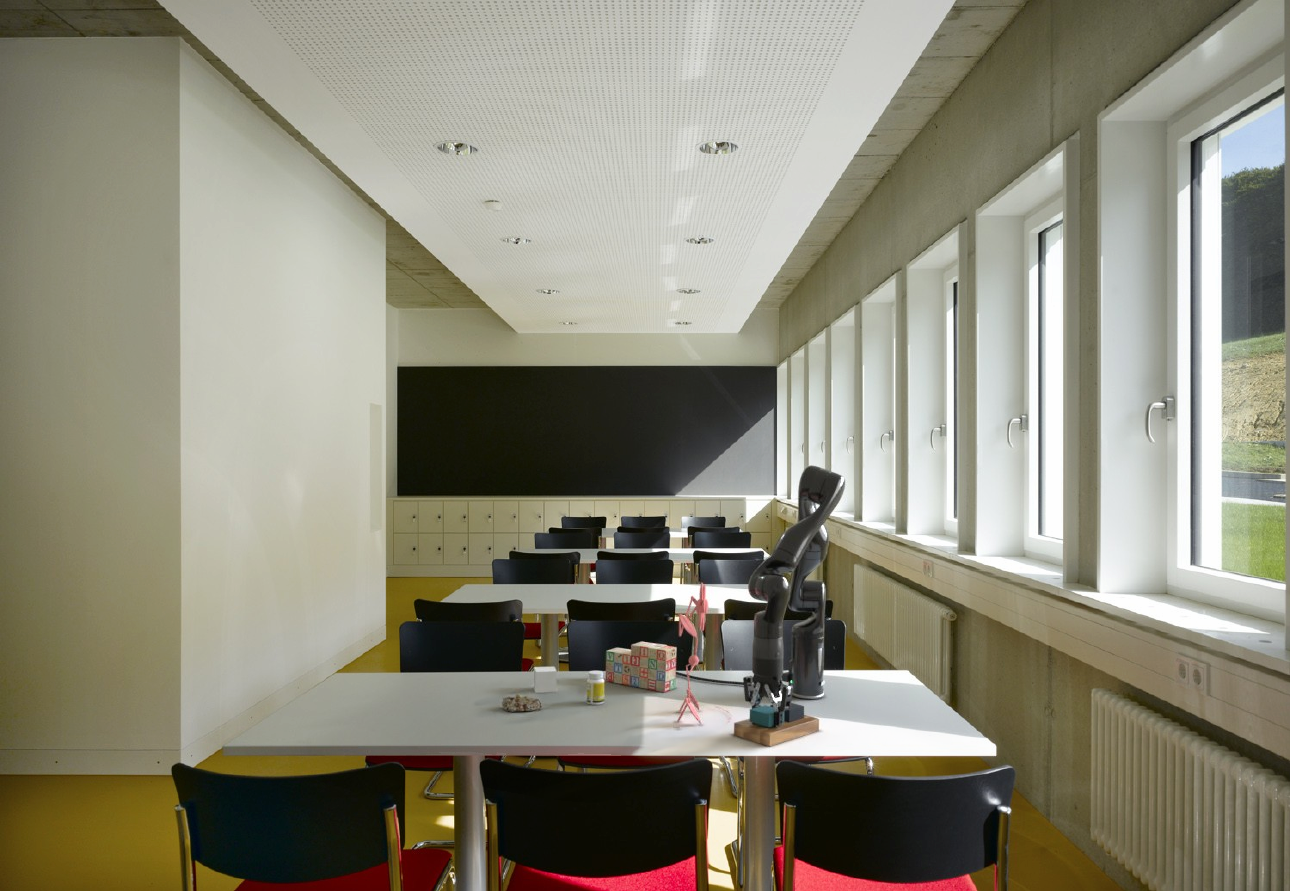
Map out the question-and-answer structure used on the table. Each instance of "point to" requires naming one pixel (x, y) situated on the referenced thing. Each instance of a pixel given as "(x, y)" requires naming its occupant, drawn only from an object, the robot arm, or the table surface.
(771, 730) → the block
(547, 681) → the white cube
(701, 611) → the figurine
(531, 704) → the mineral rock
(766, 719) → the teal stepped block
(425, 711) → the table surface
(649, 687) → the stack of blocks
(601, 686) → the supplement bottle
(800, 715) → the dark grey cube
